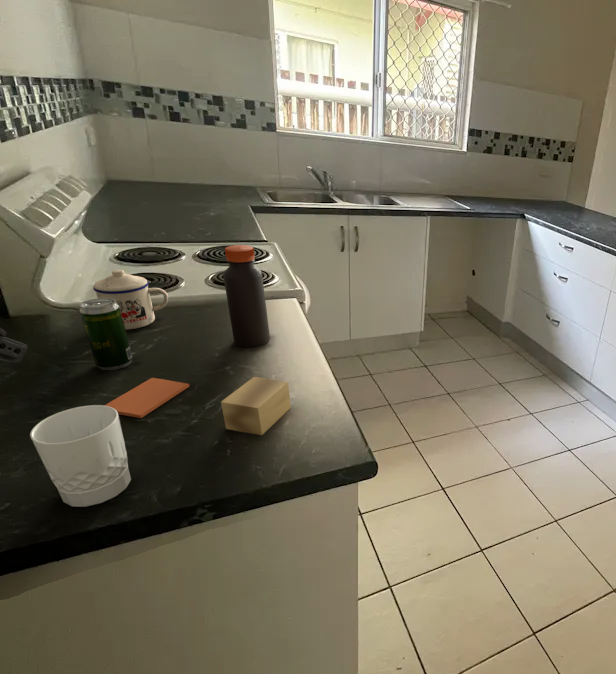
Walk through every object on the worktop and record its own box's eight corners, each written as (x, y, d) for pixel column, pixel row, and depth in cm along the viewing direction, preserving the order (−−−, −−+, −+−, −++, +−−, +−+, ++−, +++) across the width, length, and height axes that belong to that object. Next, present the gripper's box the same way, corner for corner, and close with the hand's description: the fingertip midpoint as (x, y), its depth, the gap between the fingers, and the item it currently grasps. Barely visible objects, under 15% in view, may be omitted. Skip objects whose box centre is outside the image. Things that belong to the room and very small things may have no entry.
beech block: (225, 429, 73) (220, 401, 71) (257, 402, 80) (254, 376, 78) (262, 435, 73) (257, 408, 70) (291, 407, 80) (288, 382, 78)
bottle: (267, 332, 104) (255, 242, 96) (273, 344, 99) (261, 251, 91) (232, 337, 101) (217, 244, 92) (236, 350, 96) (221, 253, 87)
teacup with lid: (101, 333, 97) (85, 279, 92) (106, 317, 103) (92, 265, 99) (172, 326, 103) (160, 274, 98) (172, 310, 110) (162, 262, 105)
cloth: (100, 411, 74) (99, 407, 74) (152, 380, 83) (152, 377, 83) (141, 418, 73) (140, 415, 73) (189, 386, 83) (188, 383, 82)
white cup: (41, 497, 58) (13, 430, 54) (111, 460, 65) (91, 398, 61) (83, 520, 56) (57, 452, 51) (151, 479, 62) (133, 416, 58)
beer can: (134, 355, 90) (118, 296, 85) (133, 367, 86) (116, 306, 81) (97, 360, 87) (79, 299, 82) (94, 373, 83) (75, 310, 78)
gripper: (-309, 313, 36) (-52, 377, 52) (-162, 337, 35) (55, 394, 51) (-239, 231, 39) (-15, 315, 55) (-100, 250, 38) (87, 331, 54)
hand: (18, 353), depth 53 cm, fingers closed
